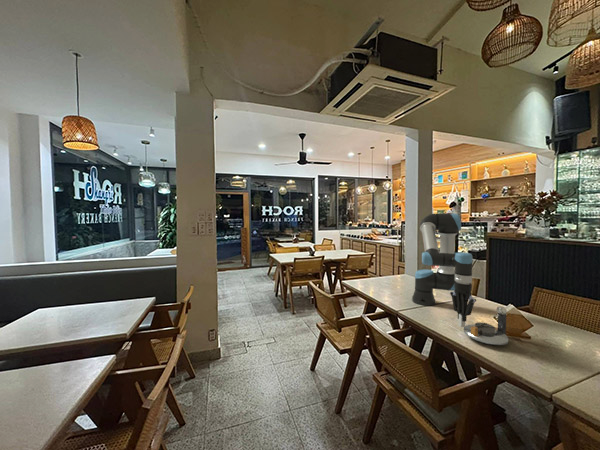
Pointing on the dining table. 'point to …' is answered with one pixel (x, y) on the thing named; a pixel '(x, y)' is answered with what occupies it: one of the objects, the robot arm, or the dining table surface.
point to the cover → (485, 329)
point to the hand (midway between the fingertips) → (461, 326)
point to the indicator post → (501, 319)
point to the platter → (495, 340)
